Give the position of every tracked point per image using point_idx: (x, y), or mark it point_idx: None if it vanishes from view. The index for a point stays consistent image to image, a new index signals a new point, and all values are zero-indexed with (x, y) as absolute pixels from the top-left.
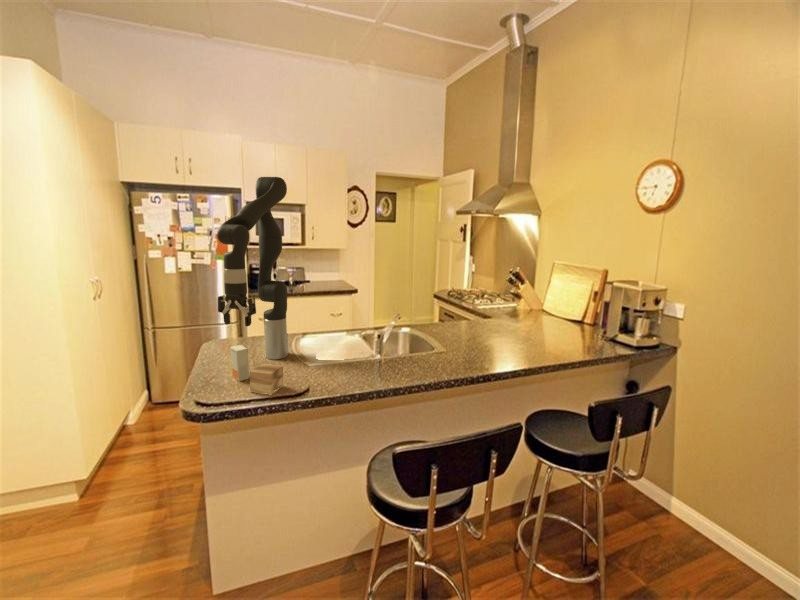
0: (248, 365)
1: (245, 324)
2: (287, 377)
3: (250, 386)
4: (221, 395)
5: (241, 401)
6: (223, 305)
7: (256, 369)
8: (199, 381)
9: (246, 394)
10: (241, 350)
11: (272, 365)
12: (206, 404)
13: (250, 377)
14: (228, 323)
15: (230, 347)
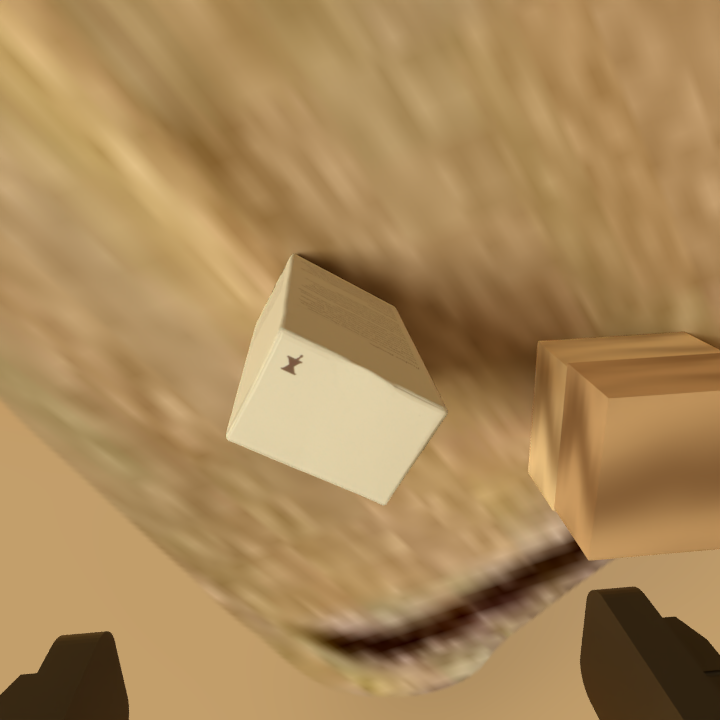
0: (412, 341)
1: (606, 716)
2: (656, 188)
3: (545, 494)
4: (393, 551)
5: (540, 564)
6: None
7: (620, 516)
8: (107, 459)
9: (519, 497)
10: (411, 464)
11: (710, 410)
12: (391, 640)
13: (572, 528)
14: (116, 678)
15: (233, 442)
